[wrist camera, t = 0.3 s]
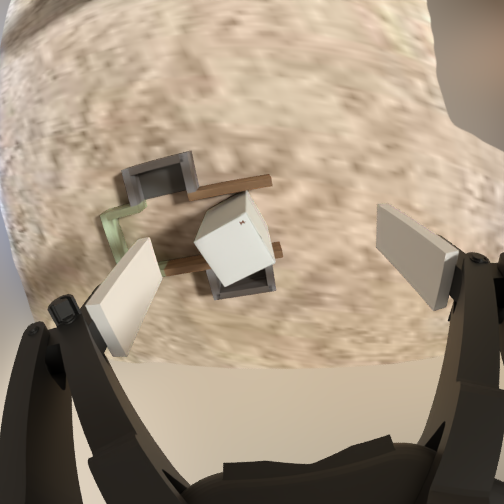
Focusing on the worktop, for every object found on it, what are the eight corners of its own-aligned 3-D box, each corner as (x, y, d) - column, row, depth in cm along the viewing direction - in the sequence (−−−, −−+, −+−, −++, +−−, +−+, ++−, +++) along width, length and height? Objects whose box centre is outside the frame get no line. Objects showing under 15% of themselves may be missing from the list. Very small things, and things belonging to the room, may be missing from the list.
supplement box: (205, 210, 43) (190, 240, 31) (246, 187, 42) (247, 210, 30) (228, 248, 46) (223, 289, 34) (268, 227, 44) (277, 263, 33)
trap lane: (100, 176, 40) (89, 181, 36) (262, 136, 38) (264, 137, 35) (141, 299, 49) (135, 309, 46) (284, 278, 48) (287, 288, 45)
